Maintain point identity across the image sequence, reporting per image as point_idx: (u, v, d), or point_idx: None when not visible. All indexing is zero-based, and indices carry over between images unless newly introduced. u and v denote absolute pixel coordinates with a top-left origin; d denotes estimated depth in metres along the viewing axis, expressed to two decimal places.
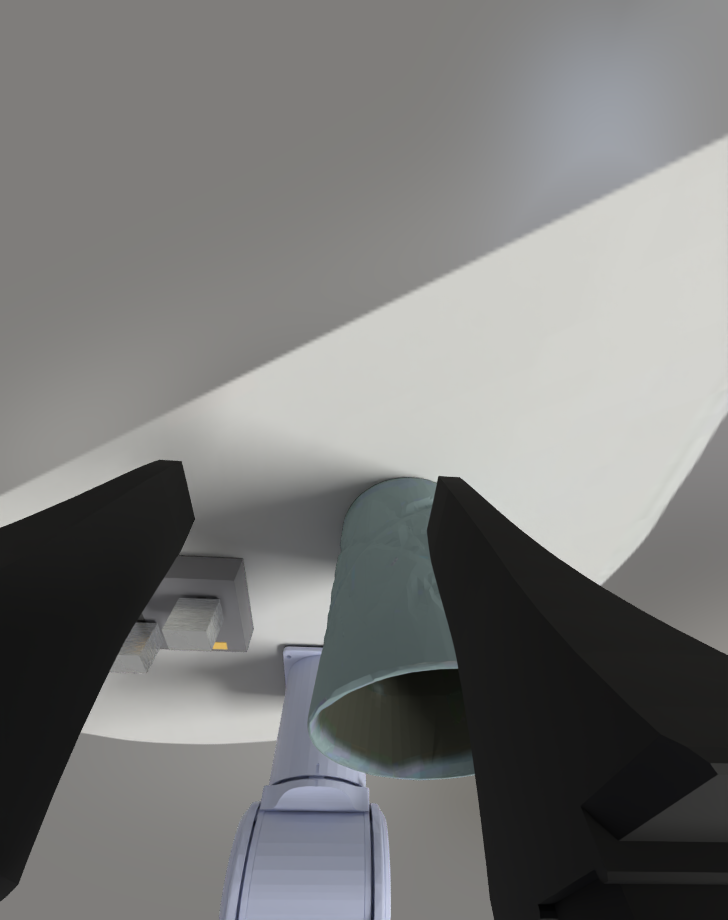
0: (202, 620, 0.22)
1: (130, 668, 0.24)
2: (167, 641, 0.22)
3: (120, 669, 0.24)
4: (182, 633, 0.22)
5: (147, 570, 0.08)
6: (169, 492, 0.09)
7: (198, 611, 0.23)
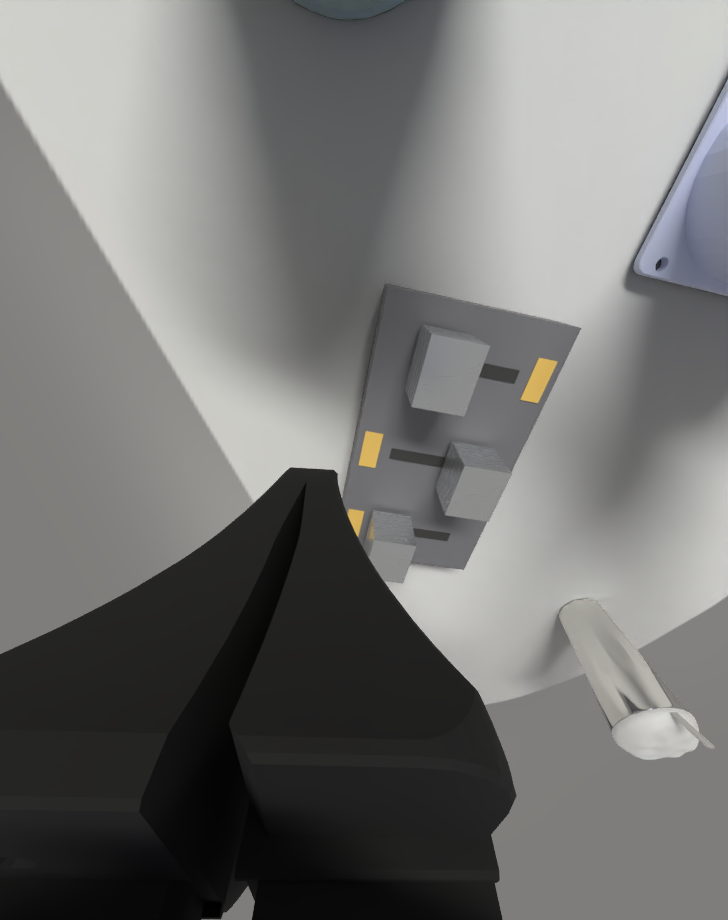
0: (424, 344, 0.13)
1: (491, 489, 0.15)
2: (442, 410, 0.13)
3: (488, 502, 0.16)
4: (428, 377, 0.13)
5: None
6: None
7: (418, 354, 0.14)
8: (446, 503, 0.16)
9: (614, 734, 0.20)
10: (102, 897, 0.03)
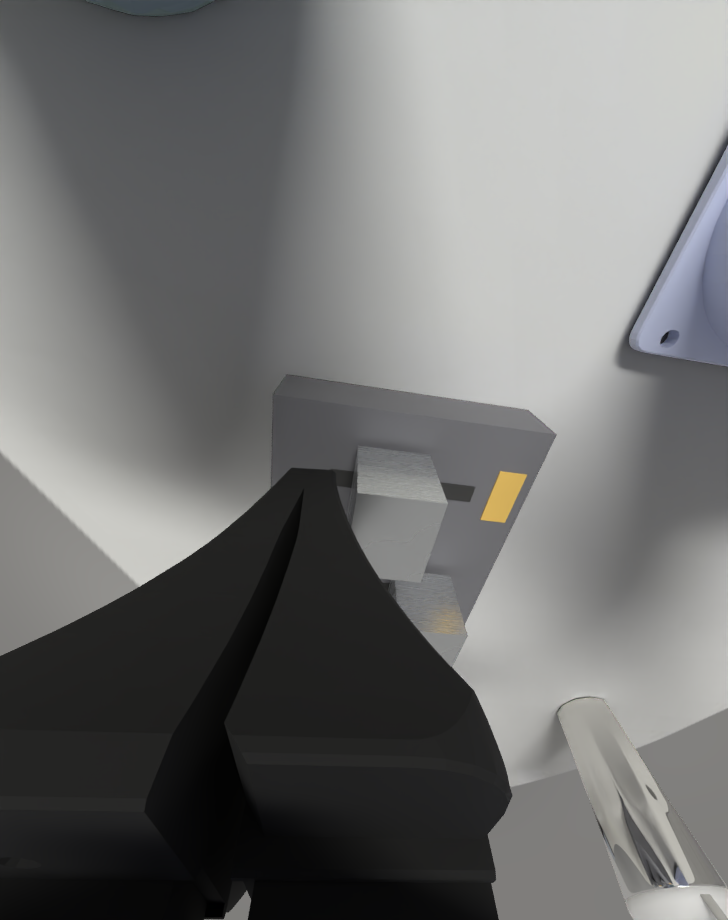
0: (354, 492, 0.09)
1: (442, 651, 0.11)
2: (388, 576, 0.09)
3: None
4: (361, 542, 0.09)
5: None
6: None
7: (352, 494, 0.10)
8: None
9: (628, 908, 0.16)
10: (106, 897, 0.03)
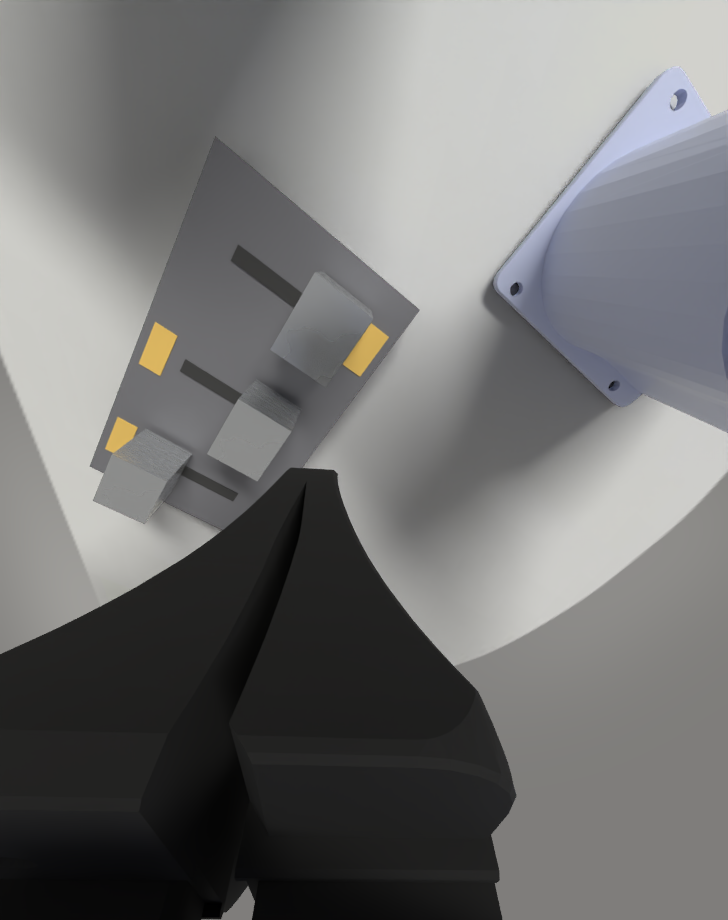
0: None
1: (265, 442, 0.13)
2: (303, 369, 0.12)
3: (260, 457, 0.13)
4: (297, 323, 0.11)
5: None
6: None
7: None
8: (214, 442, 0.13)
9: None
10: (102, 897, 0.03)
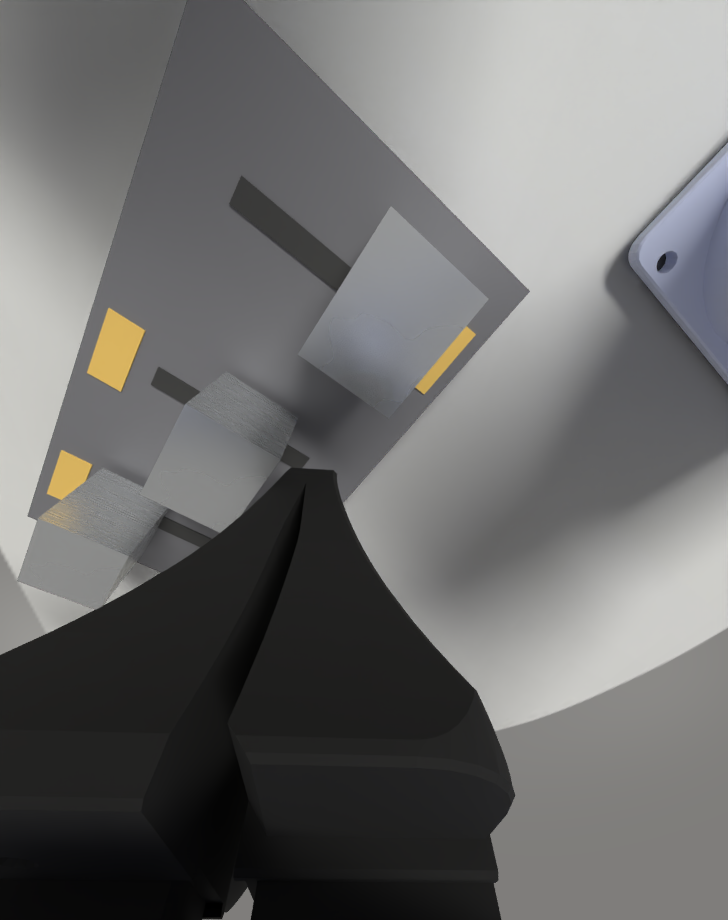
0: None
1: (237, 476, 0.08)
2: (354, 388, 0.07)
3: (229, 499, 0.08)
4: (350, 308, 0.06)
5: None
6: None
7: None
8: (153, 474, 0.08)
9: None
10: (103, 897, 0.03)
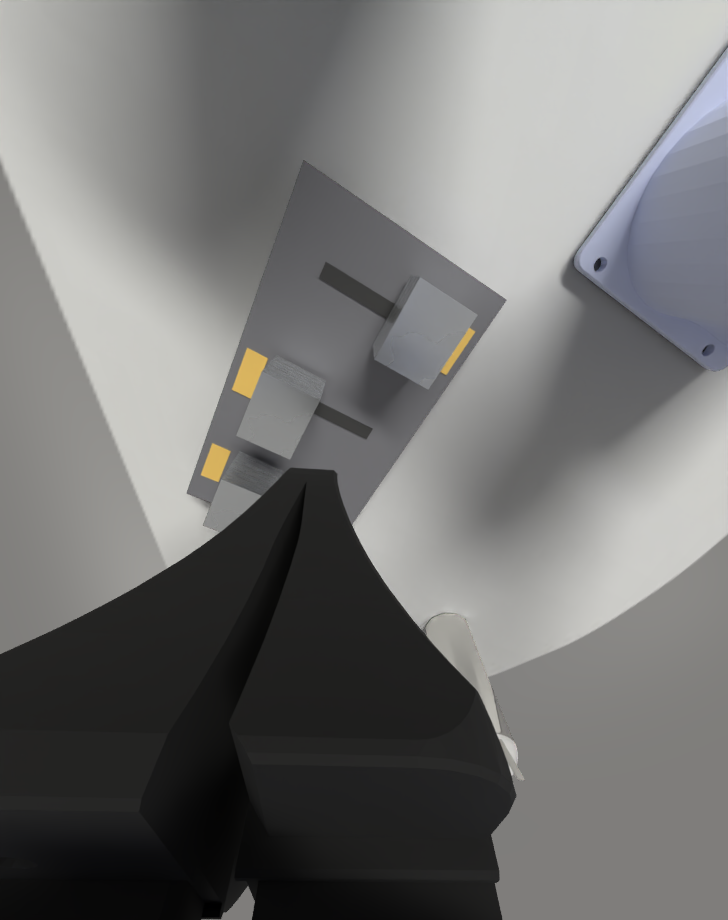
0: (407, 292, 0.11)
1: (294, 415, 0.12)
2: (407, 374, 0.12)
3: (290, 432, 0.13)
4: (402, 330, 0.11)
5: None
6: None
7: (397, 306, 0.12)
8: (242, 422, 0.13)
9: None
10: (102, 897, 0.03)
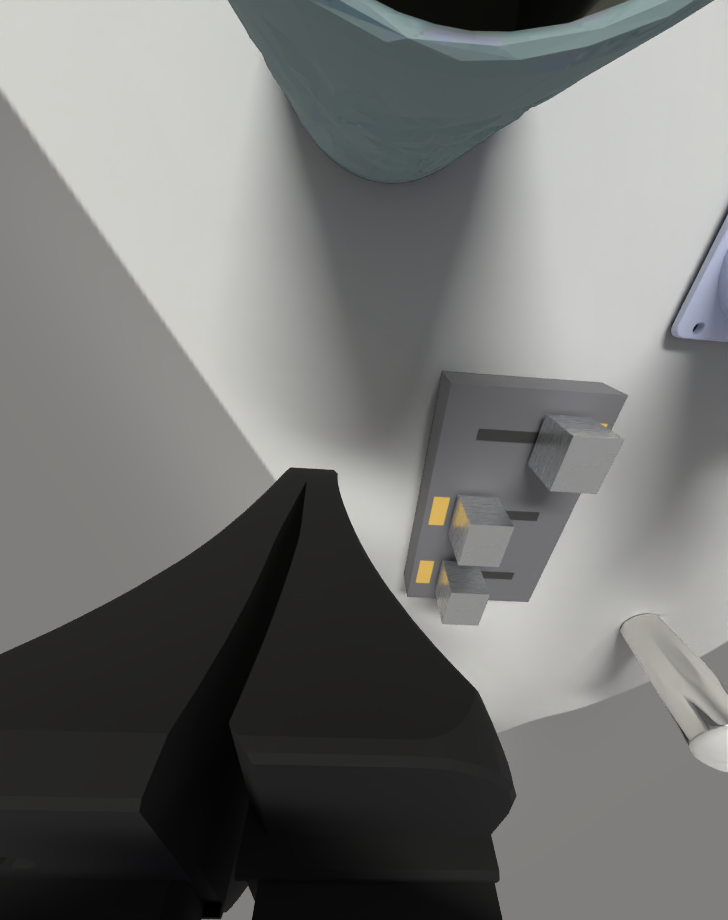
0: (559, 439, 0.15)
1: (497, 540, 0.17)
2: (577, 490, 0.15)
3: (496, 551, 0.17)
4: (567, 468, 0.15)
5: None
6: None
7: (548, 443, 0.16)
8: (458, 554, 0.18)
9: (692, 749, 0.21)
10: (102, 897, 0.03)
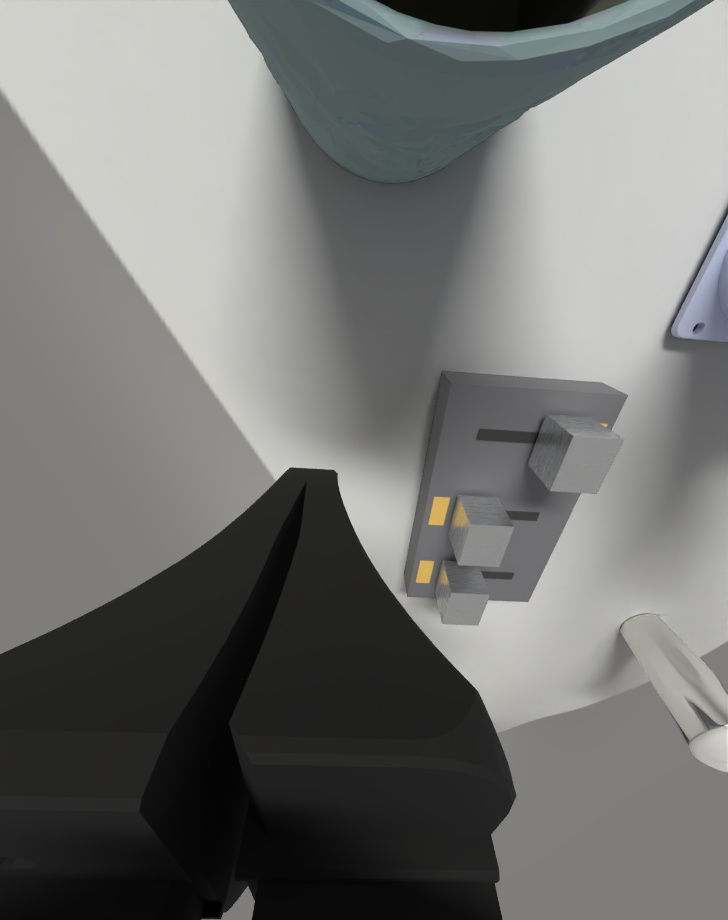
0: (559, 439, 0.15)
1: (497, 540, 0.17)
2: (577, 490, 0.15)
3: (496, 551, 0.17)
4: (567, 468, 0.15)
5: None
6: None
7: (548, 443, 0.16)
8: (458, 554, 0.18)
9: (692, 749, 0.21)
10: (102, 897, 0.03)
